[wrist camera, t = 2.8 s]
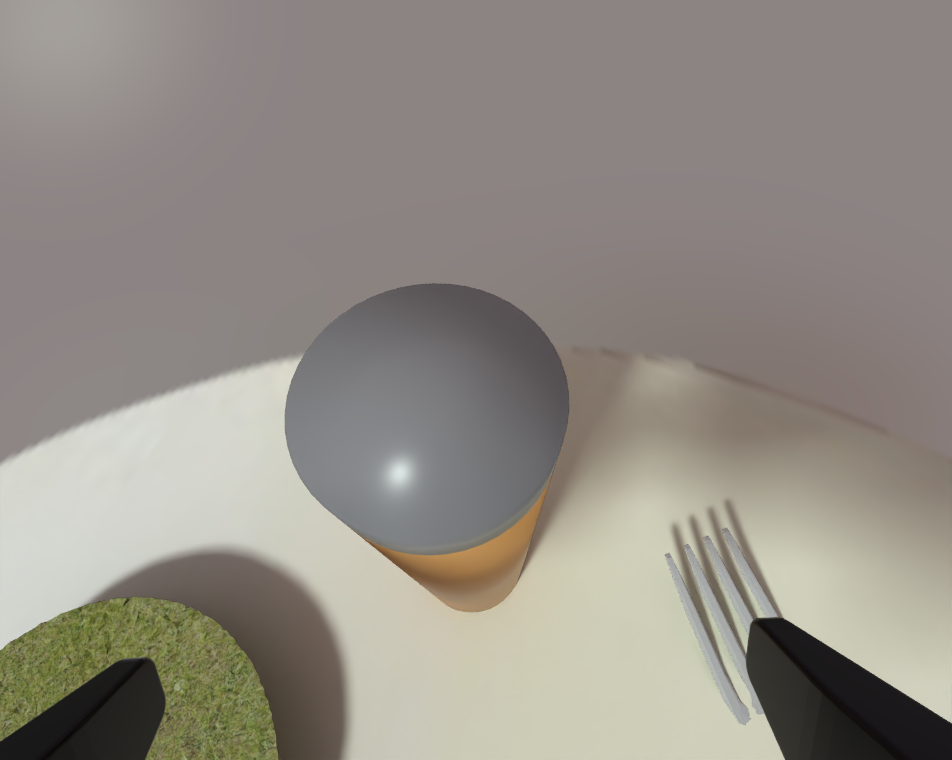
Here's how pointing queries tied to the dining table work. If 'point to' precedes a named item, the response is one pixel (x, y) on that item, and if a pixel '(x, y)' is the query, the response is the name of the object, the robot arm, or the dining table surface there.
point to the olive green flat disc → (179, 667)
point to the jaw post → (433, 433)
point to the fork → (723, 619)
